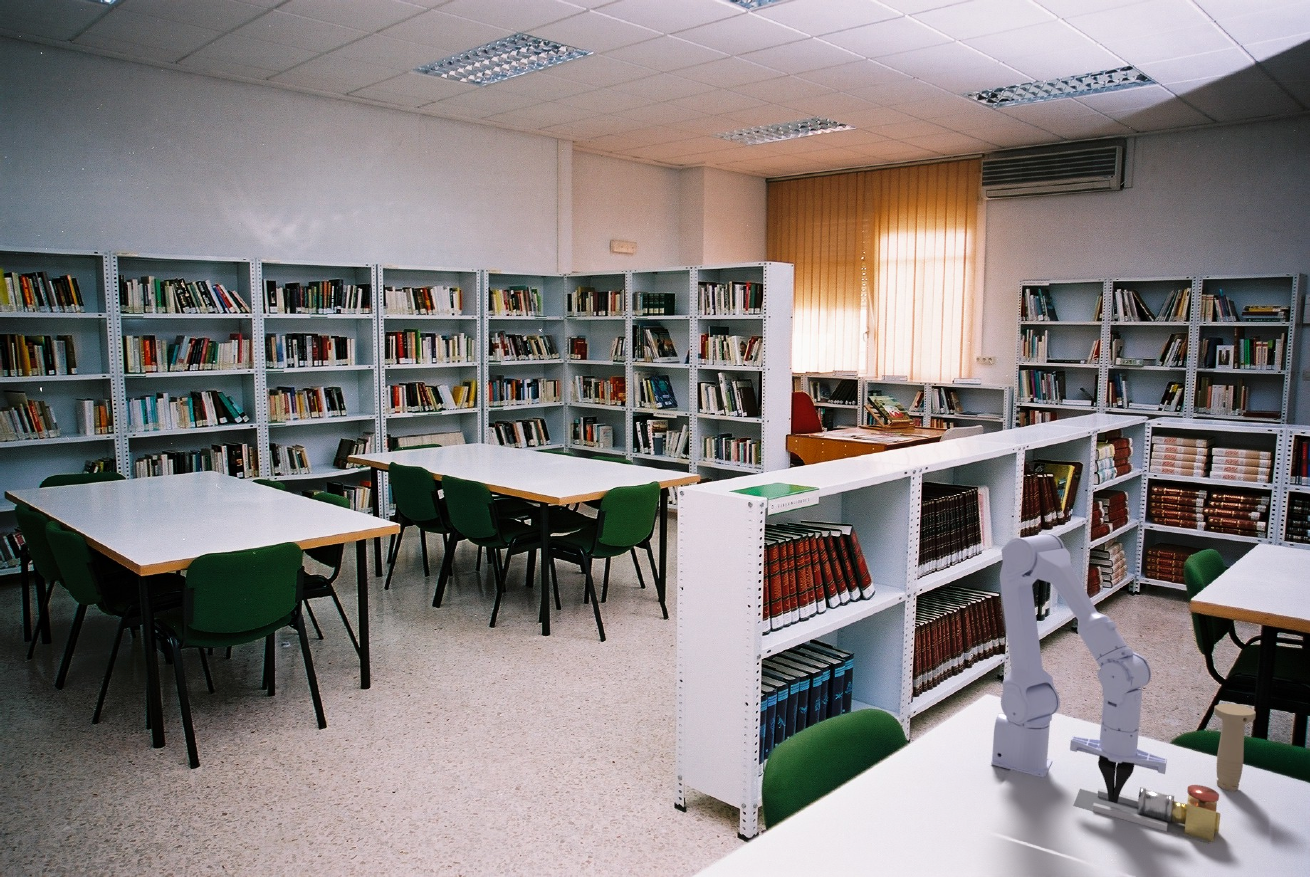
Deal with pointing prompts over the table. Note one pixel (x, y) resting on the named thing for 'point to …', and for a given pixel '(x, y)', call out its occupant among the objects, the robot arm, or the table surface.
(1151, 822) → the grey railed tray
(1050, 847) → the table surface
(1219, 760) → the handle
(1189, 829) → the valve
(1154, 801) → the coupling
